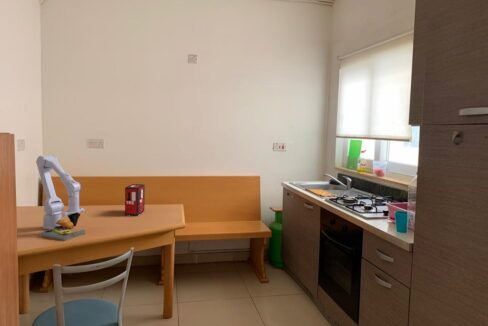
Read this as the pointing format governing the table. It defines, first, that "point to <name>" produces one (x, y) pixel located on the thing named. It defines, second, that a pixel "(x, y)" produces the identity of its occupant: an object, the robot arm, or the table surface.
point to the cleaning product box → (134, 199)
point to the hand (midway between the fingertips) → (73, 226)
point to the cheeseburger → (63, 227)
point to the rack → (61, 237)
